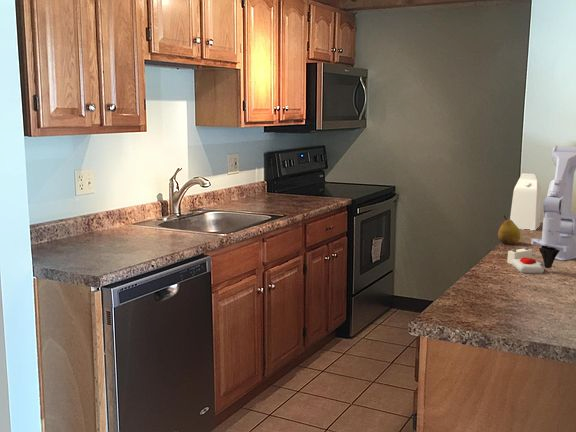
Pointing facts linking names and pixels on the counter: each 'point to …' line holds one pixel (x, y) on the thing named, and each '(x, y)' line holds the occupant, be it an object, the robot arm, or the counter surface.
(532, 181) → the milk
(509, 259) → the ledger strip
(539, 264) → the icon
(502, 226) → the fruit
